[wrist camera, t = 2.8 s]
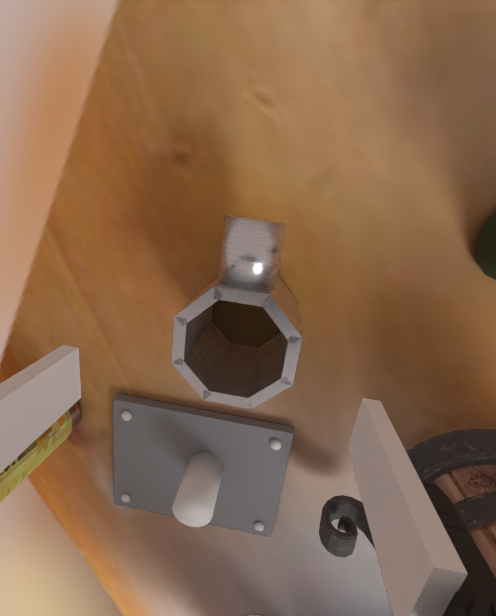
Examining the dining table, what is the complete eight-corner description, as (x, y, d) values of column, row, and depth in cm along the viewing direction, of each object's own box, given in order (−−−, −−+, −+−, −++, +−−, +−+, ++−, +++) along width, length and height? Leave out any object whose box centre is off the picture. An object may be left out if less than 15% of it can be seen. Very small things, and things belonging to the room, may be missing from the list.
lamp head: (285, 359, 28) (286, 415, 20) (200, 345, 28) (169, 394, 21) (312, 225, 24) (324, 230, 16) (213, 210, 24) (180, 209, 17)
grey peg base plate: (293, 426, 30) (296, 477, 24) (271, 528, 34) (268, 591, 28) (118, 393, 31) (80, 434, 25) (118, 495, 35) (86, 550, 30)
